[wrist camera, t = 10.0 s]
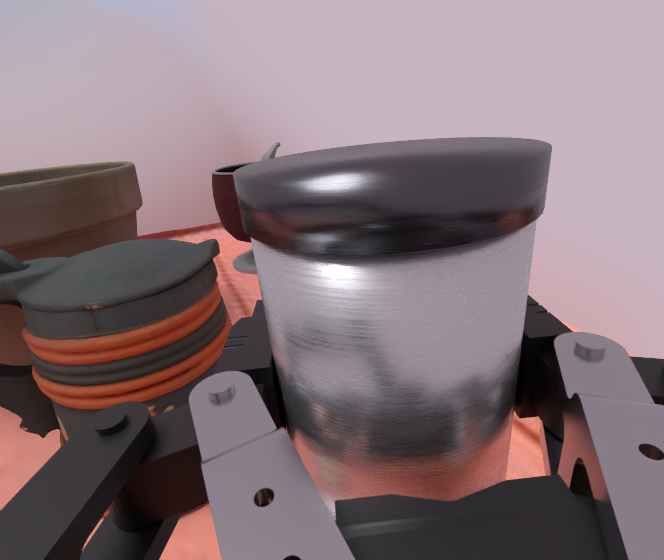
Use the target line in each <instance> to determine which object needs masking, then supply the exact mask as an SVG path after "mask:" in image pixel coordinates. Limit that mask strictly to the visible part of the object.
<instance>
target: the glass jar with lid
mask: <svg viewBox="0 0 664 560" xmlns="http://www.w3.org/2000/svg"><path fill="white" fill-rule="evenodd" d="M551 151H552V146H551V145H550V144H549V143H547V142H543V141H539V140H533V139H523V138H505V137H504V138H503V137H469V138H468V137H467V138H441V139H423V140H408V141H395V142H384V143H374V144H364V145H356V146H346V147H339V148H331V149H324V150H317V151H310V152H304V153H298V154H292V155H287V156H282V157H277V158H272V159H268V160H263V161H260V162H256V163H252V164H249V165H246V166H243V167H241V168H239V169H237V170H235V171H234V172H233V178H234V183H235V188H236V193H237V198H238V203H239V209H240V214H241V219H242V224H243V229H244V231H245V232H246V234H247V235H248V236H250V237H251V242H252V248H253V253H254V258H255V263H256V269H257V274H258V279H259V284H260V290H261V295H262V300H263V306H264V311H265V316H266V321H267V327H268V332H269V337H270V342H271V348H272V353H273V358H274V363H275V369H276V374H277V379H278V384H279V390H280V395H281V400H282V405H283V411H284V416H285V421H286V426H287V432H288V435H289V437H290V439H291V441H292V443H293V445H294V446H295V448H296V450H297V452H298V454H299V456H300V458H301V460H302V461H303V463H304V465H305V467H306V469H307V471H308V473H309V474H310V476H311V478H312V480H313V482H314V484H315V486H316V487H317V489H318V491H319V493H320V495H321V497H322V499H323V501H324V502H325V504H326V506H327V508H328V510H329V512H330V514H331V515H332V517H333V519H334V521H335V520H336V514H335V501H336V500H344V499H353V498H361V497H370V496H378V495H387V494H393V495H401V496H410V497H418V498H426V499H434V500H443V501H455V500H458V499H460V498H463V497H465V496H468V495H470V494H473V493H475V492H478V491H480V490H483V489H485V488H488V487H490V486H492V485H495V484H497V483H500V482H502V481H506V472H507V464H508V456H509V447H510V439H511V430H512V422H513V413H514V405H515V396H516V388H517V380H518V371H519V363H520V354H521V346H522V337H523V329H524V321H525V312H526V304H527V295H528V287H529V278H530V270H531V261H532V253H533V245H534V236H535V228H536V219H538V217H539V216H540V215H541V214H542V213H543V210H544V207H545V199H546V191H547V183H548V175H549V167H550V159H551Z"/></svg>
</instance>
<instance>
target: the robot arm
mask: <svg viewBox="0 0 664 560" xmlns="http://www.w3.org/2000/svg"><path fill="white" fill-rule="evenodd" d="M514 411H515V412H516V414H517V415H518V417H519V418H527V417H536V416H539V418H540V419H541V420H542V421H541V427H540V441H541V448H542V454H543V461H544V468H545V475H546V476H540V477H531V478H523V479H514V480H506V481H502V482H500V483H497V484H495V485H492V486H490V487H488V488H485V489H483V490H480V491H478V492H475V493H473V494H470V495H468V496H465V497H463V498H460V499H458V500H455V501H443V500H434V499H426V498H418V497H410V496H401V495H393V494H387V495H378V496H370V497H361V498H353V499H344V500H336V501H335V514H336V520H335V521H334V519H333V517H332V515H331V514H330V512H329V510H328V508H327V506H326V504H325V502H324V501H323V499H322V497H321V495H320V493H319V491H318V489H317V487H316V486H315V484H314V482H313V480H312V478H311V476H310V474H309V473H308V471H307V469H306V467H305V465H304V463H303V461H302V460H301V458H300V456H299V454H298V452H297V450H296V448H295V446H294V445H293V443H292V441H291V439H290V437H289V435H288V434H287V432H286V421H285V416H284V411H283V405H282V400H281V395H280V390H279V384H278V379H277V374H276V369H275V363H274V358H273V353H272V348H271V342H270V337H269V332H268V327H267V321H266V316H265V311H264V306H263V300H257V302H256V306H255V309H254V313H253V316H252V317H246V318H241V319H240V320H239V321H238V322H236V323H235V324H234V325H233V326H232V327H231V329H230V332H229V334H228V337H227V340H226V342H225V345H224V349H223V351H222V353H221V356H220V359H219V361H218V364H217V367H216V370H215V372H214V375H212V376H210V377H208V378H206V379H204V380H203V381H201V382H200V383H199V384H197V385H196V386H195V387H194V389H193V390H192V391H191V393H190V395H189V403H187V404H185V405H183V406H181V407H178V408H175V409H172V410H169V411H166V412H163V413H160V414H157V415H154V416H151V414H150V412H149V409H148V407H147V406H146V405H145V404H143V403H140V402H124V403H119V404H116V405H113V406H110V407H108V408H106V409H103V410H102V411H100V412H98V413H96V414H95V415H93V416H92V417H91V418H89V419H88V420H87V421H86V422H85V423H84V424H83V425H82V426H81V427H80V428H79V429H78V430H77V431H76V432H75V433H74V434H73V435H72V436H71V437H70V438H69V439H68V440H67V441H66V442H65V443H64V444H63V446H62V447H61V448H60V449H59V450H58V451H57V452H56V453H55V454H54V455H53V456H52V457H51V458H50V459H49V460H48V461H47V462H46V463H45V464H44V466H43V467H42V468H41V469H40V470H39V471H38V472H37V473H36V474H35V475H34V476H33V477H32V478H31V479H30V480H29V481H28V482H27V483H26V484H25V486H24V487H23V488H22V489H21V490H20V491H19V492H18V493H17V494H16V495H15V496H14V497H13V498H12V499H11V500H10V501H9V502H8V503H7V504H6V506H5V507H4V508H3V509H2V510H1V511H0V560H159V558H160V556H161V554H162V552H163V550H164V548H165V546H166V544H167V542H168V540H169V538H170V536H171V534H172V532H173V530H174V528H175V526H176V524H177V522H178V520H179V518H180V516H181V513H182V512H183V511H185V510H188V509H190V508H192V507H195V506H197V505H200V504H202V503H204V502H207V501H209V504H210V508H211V513H212V517H213V521H214V526H215V530H216V535H217V539H218V544H219V548H220V553H221V557H222V560H664V359H656V358H643V357H631V356H629V355H628V353H627V351H626V350H625V349H624V348H623V347H622V346H621V345H619V344H618V343H616V342H615V341H613V340H611V339H608V338H606V337H603V336H600V335H596V334H591V333H585V332H573V331H572V330H570V329H569V328H568V327H567V326H565V325H564V324H563V323H562V322H561V321H559V320H558V319H557V318H556V317H554V316H553V315H552V314H551V313H548V312H547V310H546V309H545V308H544V307H542V306H541V305H539V304H538V303H537V302H536V301H535V300H534V299H533V298H531V297H530V296H529V295H527V304H526V312H525V321H524V329H523V337H522V346H521V354H520V363H519V371H518V380H517V388H516V396H515V405H514ZM107 509H108V511H109V513H108V514H107V516H106V517H105V519H104V520H103V522H102V523H101V525H100V526H99V528H98V529H97V531H96V532H95V534H94V535H93V536H92V538H91V539H90V541H89V542H88V544H87V545H86V547H85V548H84V550H83V551H82V549H83V546H84V544H85V542H86V540H87V538H88V537H89V535H90V534H91V532H92V531H93V529H94V528H95V526H96V525H97V524H98V522H99V521H100V519H101V518H102V516H103V515H104V513H105V512H106V510H107ZM81 552H82V553H81Z"/></svg>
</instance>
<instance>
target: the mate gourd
mask: <svg viewBox="0 0 664 560" xmlns="http://www.w3.org/2000/svg"><path fill="white" fill-rule="evenodd" d="M279 146H280V143H279V142H277V143H275V144H274V145H273V146H272V147H271V148H270V149H269V150H268V151H267V152H266V153H265V154H264V156H263V158H262V160H261V161H263V160H268V159H272V158H275V153H276V150H277V148H278V147H279ZM259 162H260V161H259ZM252 163H256V162H250V163H242V164H237V165H231V166H226V167H221V168H218V169H215V170H212V187H213V197H214V201H215V206H216V209H217V212H218V215H219V217H220V220H221V222H222V224H223V226H224V228H225V230H226V231H227V232H229V233H230V234H231V235H232V236H233V237H234V238H235V239H237V240H240V241H245V242H250V243H252V242H251V237H250V236H248V235H247V234H246V232H245V231H244V229H243V224H242V219H241V214H240V209H239V203H238V198H237V193H236V188H235V183H234V178H233V172H234V171H235V170H237V169H239V168H241V167H243V166H246V165H249V164H252ZM233 265H234V268H235V269H236V270H237V271H239V272H242V273H248V274H257V269H256V263H255V258H254V253H253V250H251V251H248V252H246V253H243V254H241V255H240V256H238V257H237V258H236V259H235V260H234V261H233Z"/></svg>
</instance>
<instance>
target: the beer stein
mask: <svg viewBox="0 0 664 560" xmlns="http://www.w3.org/2000/svg"><path fill="white" fill-rule="evenodd" d="M219 253H220V249H219V244H218V241H217V240H216V239H210V240H207V241H204V242H201V243H199V244H195V243H190V242H184V241H177V240H168V239H139V240H129V241H123V242H118V243H114V244H110V245H106V246H103V247H100V248H97V249H93V250H90V251H87V252H84V253H81V254H78V255H76V256H73V257H70V258H66V257H50V258H39V259H34V260H28V261H22V262H21V261H20V260H18V259H17V258H16V257H14V256H13V255H11V254H9V253H8V252H6V251H3V250H1V249H0V304H5V305H14V306H17V307H19V308H20V309H22V310H23V313H24V317H25V321H26V323H25V324H24V325H23V328H22V335H23V338H24V339H25V341H26V343H27V345H28V346H29V351H28V357H29V358H30V360H31V361H32V363H33V365H21V366H19V365H7V364H1V363H0V406H1V407H3V408H5V409H7V410H9V411H11V412H13V413H15V414H17V415H18V416H20V417H21V418H22V422H21V424H20V428H21V429H23V430H24V431H26V432H31V433H34V434H38V435H40V436H41V437H42V438H44V437H45V436H46V434H47V433H49V432H50V431H52V430H55V429H60V443H61V447H62V446H63V444H64V443H65V442H66V441H67V440H68V439H69V438H70V437H71V436H72V435H73V434H74V433H75V432H76V431H77V430H78V429H79V428H80V427H81V426H82V425H83V424H84V423H85V422H86V421H87V420H88V419H89V418H91V417H92V416H93V415H95V414H96V413H98V412H100V411H102V410H103V409H106V408H108V407H110V406H113V405H116V404H119V403H124V402H140V403H143V404H145V405H146V406H147V407H148V409H149V412H150V414H151V416H154V415H157V414H160V413H163V412H166V411H169V410H172V409H175V408H178V407H181V406H183V405H185V404H187V403H189V395H190V393H191V391H192V390H193V389H194V387H195V386H196V385H197V384H199V383H200V382H201V381H203V380H204V379H206V378H208V377H210V376H212V375H214V372H215V370H216V367H217V364H218V361H219V359H220V356H221V353H222V351H223V349H224V345H225V342H226V340H227V337H228V334H229V332H230V329H231V327H232V324H231V320H230V318H229V314H228V311H227V309H226V307H225V304H224V302H223V298H222V296H221V295H220V291H219V288H218V283H217V281H216V279H217V275H218V273H217V269H216V266H215V263H214V261H213V258H214V257H215V256H217V255H218V254H219ZM108 513H109V511H108V509H107V510H106V512H105V513H104V515H103V516H104V517H106V516H107V514H108Z"/></svg>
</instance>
